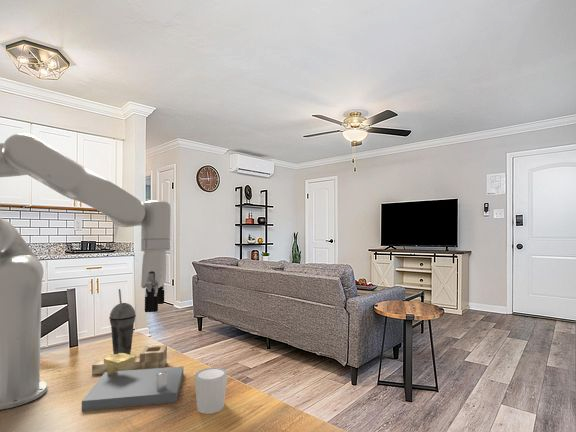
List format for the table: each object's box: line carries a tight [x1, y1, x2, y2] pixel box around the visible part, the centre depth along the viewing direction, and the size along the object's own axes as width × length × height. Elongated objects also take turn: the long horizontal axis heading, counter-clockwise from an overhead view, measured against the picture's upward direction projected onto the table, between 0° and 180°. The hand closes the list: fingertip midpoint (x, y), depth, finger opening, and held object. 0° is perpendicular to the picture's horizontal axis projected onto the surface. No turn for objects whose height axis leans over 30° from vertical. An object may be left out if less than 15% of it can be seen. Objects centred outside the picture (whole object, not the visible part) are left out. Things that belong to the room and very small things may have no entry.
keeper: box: [103, 353, 137, 375], centre depth 86 cm, size 7×5×6 cm
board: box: [81, 365, 185, 412], centre depth 82 cm, size 19×15×2 cm
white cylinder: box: [193, 367, 228, 415], centre depth 75 cm, size 7×7×7 cm
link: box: [91, 344, 168, 375], centre depth 94 cm, size 18×6×5 cm, turn 101°
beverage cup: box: [109, 288, 137, 355], centre depth 105 cm, size 7×7×20 cm
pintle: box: [156, 371, 167, 391], centre depth 78 cm, size 2×2×6 cm
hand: (154, 307), depth 96 cm, fingers open, 9 cm apart
